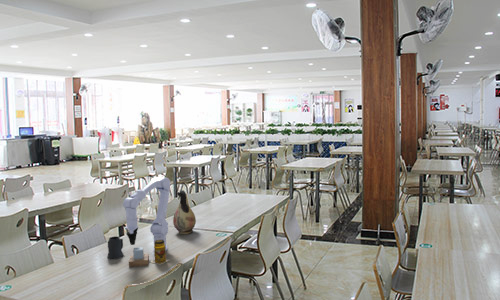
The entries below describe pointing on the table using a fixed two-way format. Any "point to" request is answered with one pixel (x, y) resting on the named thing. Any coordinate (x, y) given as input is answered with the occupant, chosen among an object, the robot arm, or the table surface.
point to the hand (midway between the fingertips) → (133, 242)
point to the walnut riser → (139, 261)
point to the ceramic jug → (184, 216)
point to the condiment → (159, 252)
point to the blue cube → (138, 253)
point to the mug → (115, 248)
